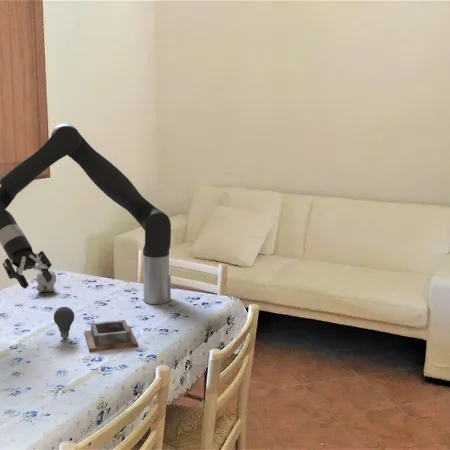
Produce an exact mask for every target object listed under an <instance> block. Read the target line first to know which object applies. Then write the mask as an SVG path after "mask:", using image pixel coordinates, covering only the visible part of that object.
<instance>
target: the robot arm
mask: <svg viewBox="0 0 450 450" xmlns="http://www.w3.org/2000/svg"><path fill="white" fill-rule="evenodd" d="M66 156H68V157H69V158H70V159H71V160H73V161H74V162H75V163H76V164H77V165H78V166H79V167H80V168H81V169H82V171H83V172H84V173H85V174H86V175H87V177H88V178H89V179H90V180H91V182H92V183H93V184H94V185H96V187H97V188H98V189H99V190H101V192H102V193H103V194H104V195H106V196H107V197H108V198H110V199H111V200H112V201H113V202H114V203H116V204H117V205H118V206H120V207H122V208H123V209H125V210H126V211H127V212H128V214H130V215H131V216H132V217H133V218H134V219H135V220H136V222H137V223H138V224H139V225H140V226H141V228H142V229H143V230H144V246H143V248H142V259H143V260H142V262H143V263H142V264H143V267H142V268H143V271H142V272H143V277H142V278H143V301H144V303H146V304H149V305H163V304H166V303H168V302H172V300H171V295H172V294H171V292H172V291H171V290H172V289H171V288H172V287H171V286H172V285H171V284H172V283H171V279H172V278H171V275H170V248H171V239H172V238H171V237H172V236H171V235H172V222H171V219H170V217H169V216H168V215H167V214H166V213H165V212H164V211H162V210H160V209H159V208H157V207H156V206H154V205H153V204H152V203H151V202H150V201H148V200H147V199H146V198H145V197H144V196H143V195H142V194H141V193H140V192H139V191H138V189H137V188H136V186H135V185H134V183H132V181H131V180H130V179H129V178H128V177H127V176H126V175H125V174H124V173H123V172H122V171H121V170H120V169H119V168H118V167H117V166H115V165H114V164H113V163H112V162H111V161H109V160H108V159H107V158H106V157H104V156H103V155H101V153H99V152H98V151H96V150H95V148H93V147H92V146H91V145H90V144H89V143H88V142H87V140H86V139H85V137H83V136H82V135H81V133H80V132H79V130H78V129H77V127H75V126H74V125H72V124H70V123H59V124H58V125H56V126H55V127H54V128H53V129H52V131H51V135H50V137H49V138H48V140H46V142H45V143H44V144H43V145H42V146H40V148H39V149H38V150H36V151H35V152H33V154H31V155H30V156H28V157H26V158H25V159H23V160H22V161H21V162H19V163H18V164H16V166H14V167H12V169H10V170H9V171H8V172H7V173H5V174H4V175H3V176H2V177H1V178H0V245H1V246H2V249H3V250H4V252H5V254H6V255H7V257H8V258H5V259H4V261H3V262H2V266H3V268H4V270H5V272H6V274H7V276H8V278H9V279H10V280H12V279H15V280H17V282H18V283H19V285H20V287H22V288H23V289H27V288H28V287H29V285H30V284H29V282H28V280H27V279H26V277H25V275H24V274H23V272H24V271H27V270H35V271H38V272H42V275H43V276H44V278H45V280H46V282H47V283H48V282H50V281H51V280H52V276H51V274H50V272H49V271H48V269H50V267H52V263H51V261H50V260H49V258H48V257H47V255H46V254H45V252H44V251H43V250H41V251H39V253H35V252H34V251H33V248H32V245H31V244H30V242H29V240H28V238H27V237H26V235H25V234H24V232H23V230H22V228H21V227H20V226H19V225H18V223H17V221H16V219H15V217H14V216H13V215H12V213H10V211H8V210H7V209H8V207H9V206H10V205H11V203H12V202H13V201H14V199H15V198H16V196H17V195H18V193H20V192H22V191H23V190H24V189H25V188H26V187H28V186H29V184H31V183H32V182H34V181H35V179H37V178H38V177H39V176H40V175H41V174H42V173H43V172H44V171H46V170H47V169H48V168H49V167H51V166H52V165H53V164H55V163H56V162H58V161H59V160H61V159H63V158H64V157H66ZM36 264H37V265H36ZM14 267H16V270H15V268H14Z"/></svg>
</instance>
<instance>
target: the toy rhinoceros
mask: <svg viewBox="0 0 450 450" xmlns="http://www.w3.org/2000/svg"><path fill="white" fill-rule="evenodd" d="M48 271H49V272H50V274H51V276H52V280H51V281H50V282H48V283H47V282H46V280H45V278H44V276H43V275H42V272H40V271H38V273H37V275H36V278H35V280H36V283H37V285H36V290H37V292H40V293H45V292H46V291H47V292H52V293H53V292H54V291H55V286H54V285H55V284H56V282H57V274H56V273H55V272H54V270H52V269H50V268H49V269H48Z"/></svg>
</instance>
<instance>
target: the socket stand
mask: <svg viewBox="0 0 450 450" xmlns="http://www.w3.org/2000/svg"><path fill="white" fill-rule="evenodd" d="M83 333H84V337H85V341H86V344H87V347H88V352H89V353H93V352H100V351H110V350H119V349H127V348H136V347H139V343H138V341H137V338H136V336H135V334H134V332H133V331H132V328H131V326H128V324H127V322H126V320H125V319H120V320H111V321H103V322H102V321H101V322H100V321H99V322H91V323H90V330H85V331H84V332H83Z"/></svg>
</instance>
